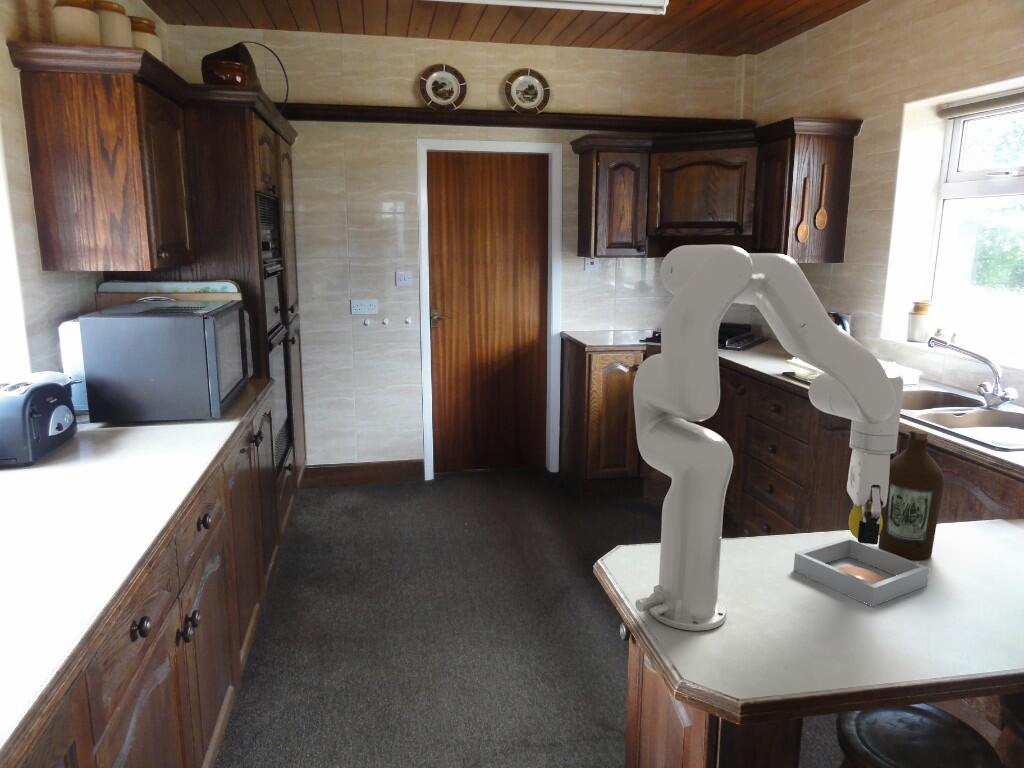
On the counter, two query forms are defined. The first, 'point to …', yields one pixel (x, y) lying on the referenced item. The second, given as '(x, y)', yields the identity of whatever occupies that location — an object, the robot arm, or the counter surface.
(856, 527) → the lemon
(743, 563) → the counter surface
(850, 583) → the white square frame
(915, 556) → the brown glass bottle
